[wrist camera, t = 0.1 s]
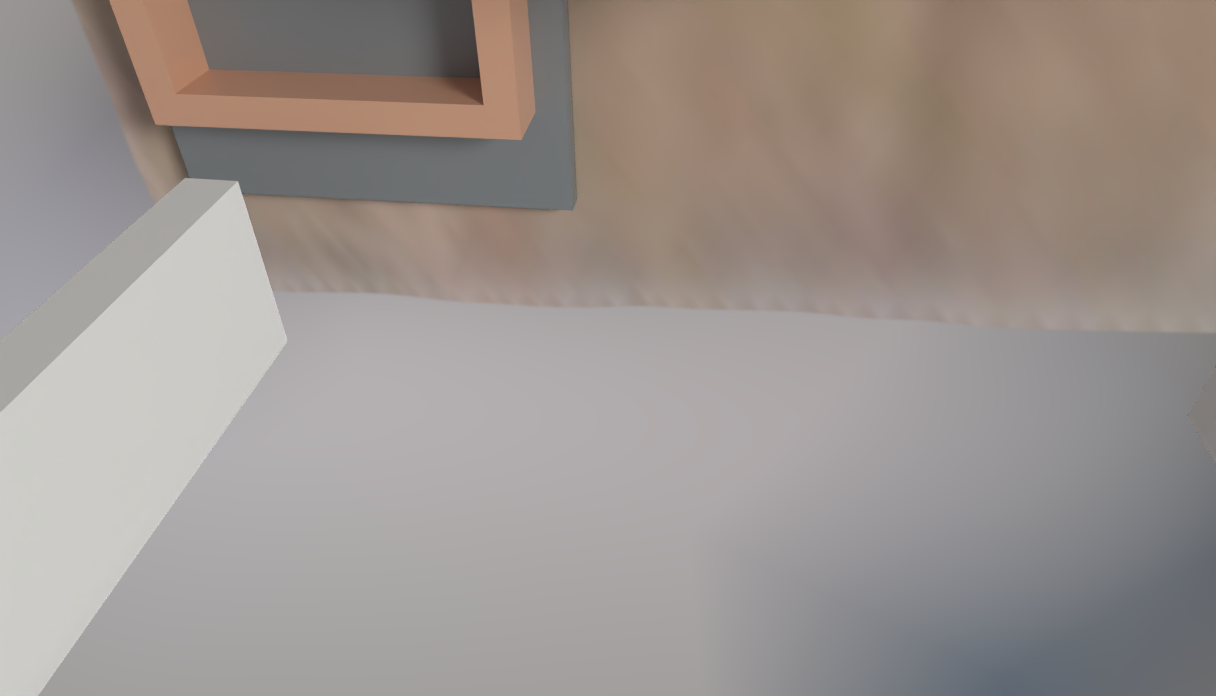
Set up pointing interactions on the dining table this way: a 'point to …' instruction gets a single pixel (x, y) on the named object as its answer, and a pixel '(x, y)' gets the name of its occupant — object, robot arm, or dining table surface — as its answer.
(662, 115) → the dining table surface
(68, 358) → the robot arm
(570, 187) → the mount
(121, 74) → the dining table surface
